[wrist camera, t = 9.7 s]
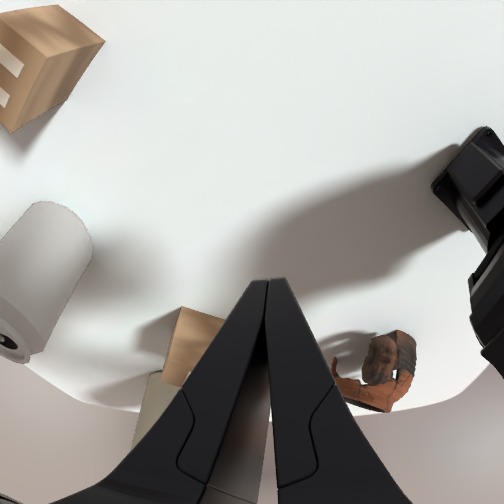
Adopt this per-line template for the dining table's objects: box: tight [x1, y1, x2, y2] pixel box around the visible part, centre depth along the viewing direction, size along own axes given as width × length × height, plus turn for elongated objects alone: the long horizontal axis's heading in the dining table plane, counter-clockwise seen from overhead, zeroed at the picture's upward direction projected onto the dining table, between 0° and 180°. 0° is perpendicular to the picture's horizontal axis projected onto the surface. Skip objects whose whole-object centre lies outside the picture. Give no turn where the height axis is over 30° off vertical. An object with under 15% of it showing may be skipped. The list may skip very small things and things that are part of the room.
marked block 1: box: [0, 5, 106, 133], centre depth 12 cm, size 5×5×6 cm
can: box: [0, 201, 93, 364], centre depth 20 cm, size 8×8×12 cm
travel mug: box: [131, 372, 182, 450], centre depth 35 cm, size 8×8×18 cm
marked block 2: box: [160, 306, 225, 388], centre depth 30 cm, size 5×5×6 cm
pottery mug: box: [331, 330, 417, 413], centre depth 31 cm, size 12×10×8 cm
